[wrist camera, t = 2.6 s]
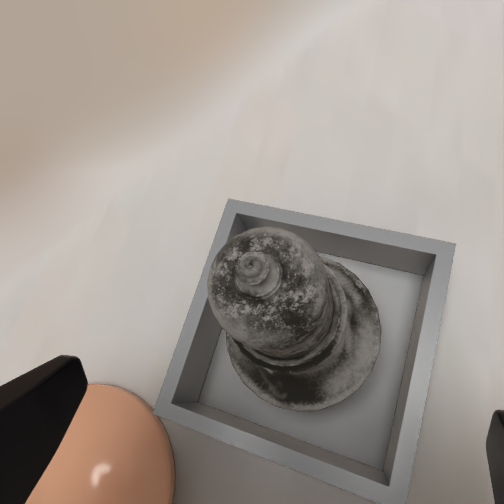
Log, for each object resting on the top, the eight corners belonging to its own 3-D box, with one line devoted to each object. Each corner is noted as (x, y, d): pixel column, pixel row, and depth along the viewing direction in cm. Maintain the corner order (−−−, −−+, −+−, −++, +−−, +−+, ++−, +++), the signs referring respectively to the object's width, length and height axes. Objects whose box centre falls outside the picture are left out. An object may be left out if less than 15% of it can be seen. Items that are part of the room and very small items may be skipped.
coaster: (132, 629, 17) (119, 643, 16) (-18, 540, 19) (-37, 547, 18) (200, 418, 19) (192, 419, 18) (56, 362, 21) (43, 361, 20)
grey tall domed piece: (332, 255, 20) (306, 81, 9) (403, 367, 17) (491, 322, 6) (226, 315, 20) (72, 218, 9) (283, 433, 18) (169, 498, 7)
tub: (395, 493, 16) (403, 513, 13) (181, 410, 19) (152, 413, 16) (440, 265, 18) (456, 243, 16) (244, 223, 21) (228, 198, 19)
